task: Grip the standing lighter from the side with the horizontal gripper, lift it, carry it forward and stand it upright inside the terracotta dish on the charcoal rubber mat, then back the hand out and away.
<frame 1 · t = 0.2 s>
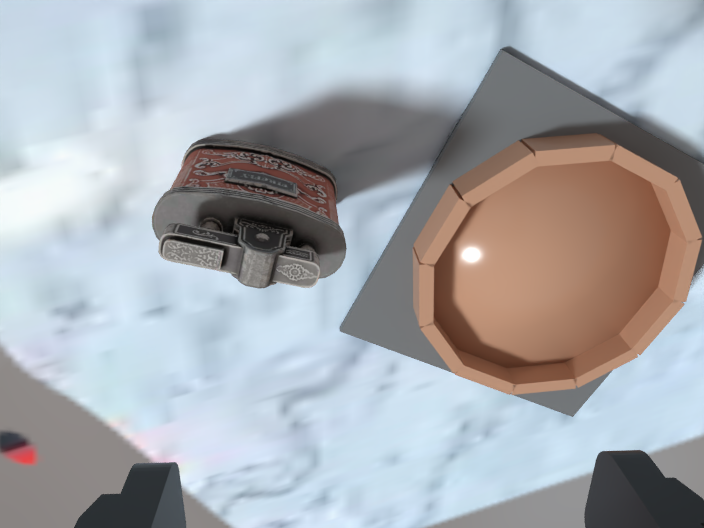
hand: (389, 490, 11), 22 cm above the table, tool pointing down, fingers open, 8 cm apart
lighter: (262, 175, 31), on the table
mat: (541, 262, 34), on the table
dish: (550, 274, 33), on the mat
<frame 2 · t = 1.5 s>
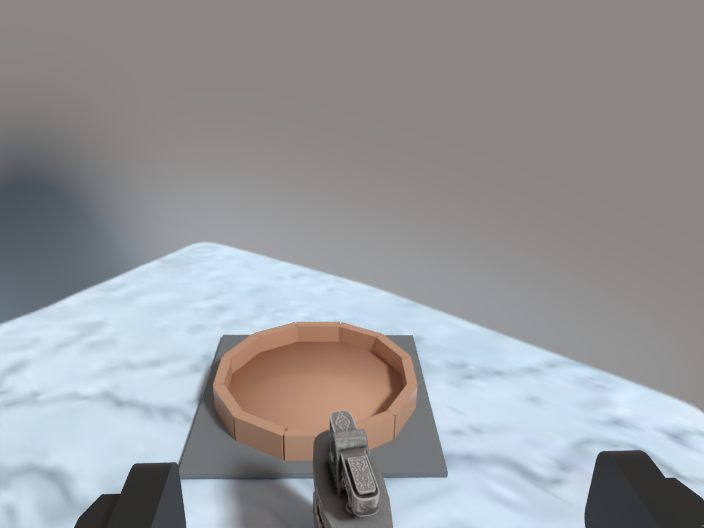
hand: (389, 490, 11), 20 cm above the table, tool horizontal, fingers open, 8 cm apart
mat: (316, 396, 47), on the table
dish: (316, 381, 46), on the mat
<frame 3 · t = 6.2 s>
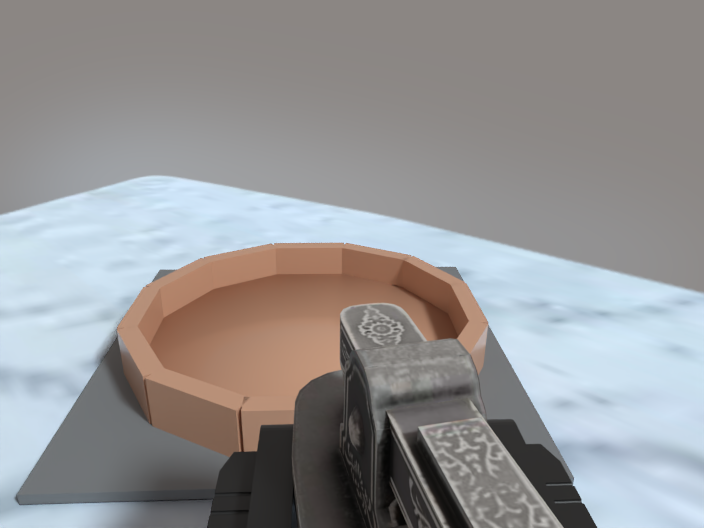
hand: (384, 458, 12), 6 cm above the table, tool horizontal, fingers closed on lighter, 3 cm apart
mat: (307, 351, 27), on the table
dish: (307, 324, 27), on the mat
when the fingers open (8 cm above the table, at t = 11.6 s): lighter stays where it is, resting on dish.
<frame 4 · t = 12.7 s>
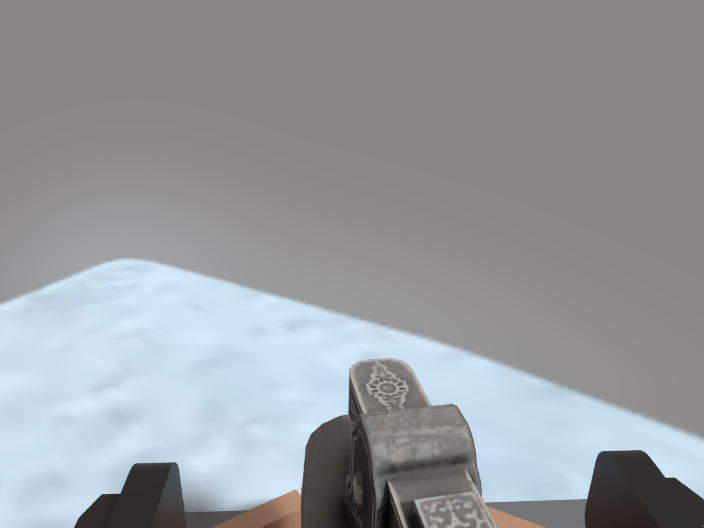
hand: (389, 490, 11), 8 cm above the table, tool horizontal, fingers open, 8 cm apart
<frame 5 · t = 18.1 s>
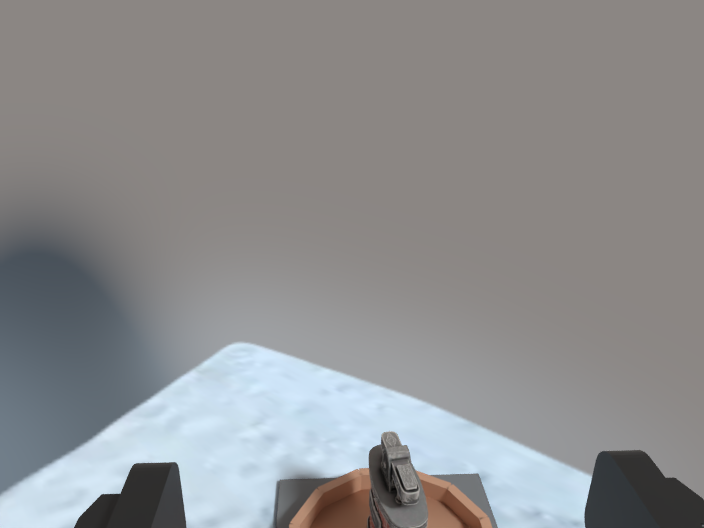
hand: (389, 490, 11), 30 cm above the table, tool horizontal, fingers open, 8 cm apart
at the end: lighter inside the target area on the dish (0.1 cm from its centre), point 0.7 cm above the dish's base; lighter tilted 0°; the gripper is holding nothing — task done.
